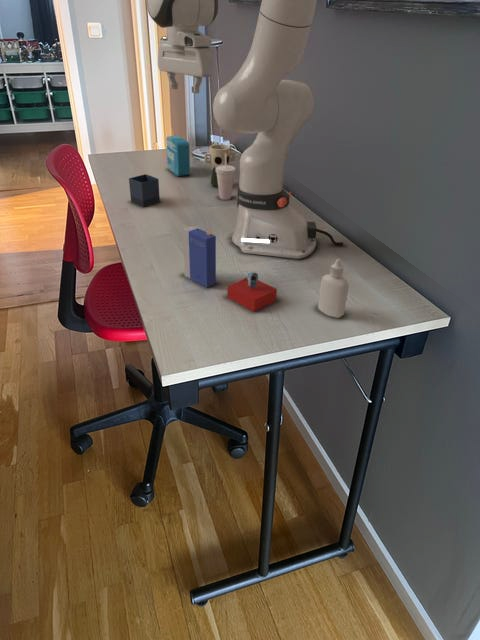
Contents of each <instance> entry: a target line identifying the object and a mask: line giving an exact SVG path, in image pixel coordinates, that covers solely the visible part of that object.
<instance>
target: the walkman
mask: <svg viewBox="0 0 480 640" xmlns="http://www.w3.org/2000/svg"><path fill="white" fill-rule="evenodd" d="M182 232H183V233H182V234H183V237H182V238H183V265H184V266H183V268H184V269H183V270H184V277H186V278H188V279H190V280H192V281H194V282H196V283H198V284H200V285H201V286H204V287H205V288H209V287H211V286H214V285H215V284H217V267H216V266H217V242H216V241H217V239H216V238H217V236H216V235H214V234H213V233H212V232H210V231H205V230H203V229H201V228H198V227H197V226H194V225H191V226H189V227H188V226H187V227H184V228H182Z"/></svg>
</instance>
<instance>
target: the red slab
mask: <svg viewBox="0 0 480 640" xmlns="http://www.w3.org/2000/svg"><path fill="white" fill-rule="evenodd" d="M277 292H278V289H277V288H276V287H273V286H272V285H269V284H268V283H265V282H263V281H261V280H259V275H258V273H257V272H249V274H248V275H247V277H245V278H243V279H240V280H238V281H236V282H233V283H231V284H229V285H227V298H228V299H229V300H231V301H233V302H236V303H237V304H239V305H241V306H243V307H245V308H246V309H248V310H250V311H252V312H256V311H258V310H260V309H263V308H264V307H266V306H268V305H270V304H272V303H274V302H276V301H277V294H278V293H277Z"/></svg>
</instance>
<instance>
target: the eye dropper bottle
mask: <svg viewBox="0 0 480 640" xmlns="http://www.w3.org/2000/svg"><path fill="white" fill-rule="evenodd" d="M343 272H344V265H342V264H341V259H340V258H337V259H336V260H335V262H334V263H332V264H331V265H330V271H329V273H327V274H324V275H322V277H321V281H320V289H319V297H318V304H317V305H318V306H317V308H318V311H320V312H321V313H323V314H324V315H326V316H329V317H332V318H335V319H339V318H341V317H343V316H344V315H345V312H346V306H347V299H348V292H349V287H350V286H349V285H350V284H349V281H348V280H347V279H346V278H345V277H344V276H343V275H344V273H343Z"/></svg>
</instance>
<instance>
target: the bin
mask: <svg viewBox="0 0 480 640" xmlns="http://www.w3.org/2000/svg"><path fill="white" fill-rule="evenodd" d="M128 183H129V194H130V202H131V203H133V204H135V205H138V206H139V207H142V208H145V207H148V206H152V205H157V204H158V203H159V204H160V203H161V199H160V197H161V196H160V183H159V178H158V177H154V176H152V175H149V174H146V173H144V174H140V175H137V176H133V177H129V178H128Z"/></svg>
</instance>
